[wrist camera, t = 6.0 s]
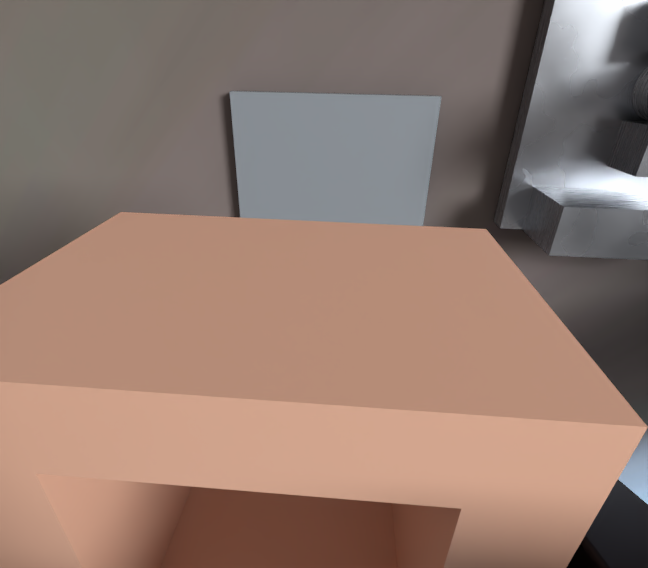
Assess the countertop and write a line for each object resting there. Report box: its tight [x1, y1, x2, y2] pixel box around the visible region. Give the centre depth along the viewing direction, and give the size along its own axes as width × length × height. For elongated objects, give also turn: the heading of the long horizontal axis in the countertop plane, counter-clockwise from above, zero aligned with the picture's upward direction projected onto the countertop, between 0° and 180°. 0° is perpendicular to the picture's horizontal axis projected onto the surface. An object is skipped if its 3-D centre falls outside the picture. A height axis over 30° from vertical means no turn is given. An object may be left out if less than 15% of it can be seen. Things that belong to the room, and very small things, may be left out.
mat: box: [230, 91, 441, 226], centre depth 19 cm, size 9×9×1 cm
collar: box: [0, 212, 648, 568], centre depth 6 cm, size 6×6×4 cm
